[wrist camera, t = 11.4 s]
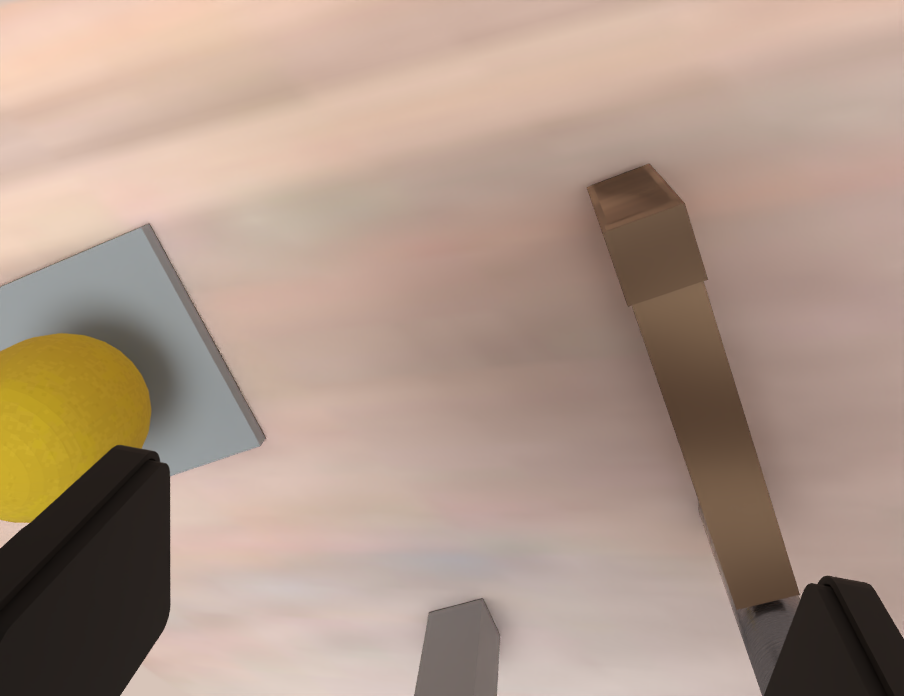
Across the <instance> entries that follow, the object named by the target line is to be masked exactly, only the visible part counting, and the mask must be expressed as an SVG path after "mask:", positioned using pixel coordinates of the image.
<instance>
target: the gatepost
mask: <svg viewBox="0 0 904 696" xmlns="http://www.w3.org/2000/svg"><path fill="white" fill-rule="evenodd" d="M699 514H700V517H701V520H702V523H703V526H704V528H705V531H706V534H707V537H708V540H709V543H710V546H711V549H712V552H713V554H714V557H715V560H716V563H717V566H718V569H719V572H720V575H721V578H722V580H723V583H724V586H725V589H726V592H727V595H728V598H729V601H730V604H731V606H732V609H733V612H734V615H735V618H736V621H737V624H738V627H739V630H740V633H741V635H742V638H743V641H744V644H745V647H746V650H747V653H748V656H749V659H750V661H751V664H752V667H753V670H754V673H755V676H756V679H757V682H758V685H759V687H760V690H761V693H762V696H764V694H765V691H766V689H767V686H768V683H769V681H770V678H771V675H772V673H773V670H774V668H775V665H776V662H777V660H778V657H779V654H780V652H781V649H782V647H783V644H784V641H785V639H786V636H787V633H788V631H789V628H790V626H791V623H792V620H793V618H794V615H795V612H796V610H797V607H798V605H799V602H800V598H799V596H798V595H796V596H792V597H788V598H784V599H780V600H776V601H771V602H767V603H763V604H759V605H755V606H751V607H747V608H742V609H738V610H736V607H735V604H734V602H733V599H732V596H731V593H730V590H729V587H728V584H727V581H726V578H725V576H724V573H723V570H722V567H721V564H720V561H719V558H718V555H717V552H716V549H715V546H714V543H713V541H712V538H711V535H710V532H709V529H708V526H707V523H706V520H705V517H704V514H703V511H702V509H701V506H700V503H699Z"/></svg>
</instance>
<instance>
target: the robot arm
mask: <svg viewBox="0 0 904 696" xmlns="http://www.w3.org/2000/svg"><path fill="white" fill-rule="evenodd" d="M169 612H170V468H169V466H168V464H166V463H162V462H160V457H159V455H158V453H157V452H155V451H151V450H146V449H141V448H135V447H130V446H124V445H116V446H114V447H113V448H111V449H110V450H109V451H108V452H107V453H106V454H105V455H104V456H103V457H102V458H101V459H99V460H98V461H97V462H96V463H95V464H94V465H93V466H92V467H91V468H90V469H88V470H87V471H86V472H85V473H84V474H83V475H82V476H81V477H80V478H79V479H78V480H76V481H75V482H74V483H73V484H72V485H71V486H70V487H69V488H68V489H67V490H66V491H64V492H63V493H62V494H61V495H60V496H59V497H58V498H57V499H56V500H55V501H53V502H52V503H51V504H50V505H49V506H48V507H47V508H46V509H45V510H44V511H43V512H41V513H40V514H39V515H38V516H37V517H36V518H35V519H34V520H33V521H32V522H31V523H29V524H28V525H27V526H25V527H24V528H22V529H21V530H20V531H19V532H18V533H17V534H16V535H15V536H14V537H12V538H11V539H10V540H9V541H8V542H7V543H6V544H5V545H4V546H3V547H1V548H0V696H120V695H121V694H122V692H123V691H124V689H125V688H126V686H127V685H128V683H129V681H130V680H131V678H132V677H133V675H134V674H135V672H136V671H137V670H138V668H139V667H140V665H141V664H142V662H143V661H144V659H145V657H146V656H147V654H148V653H149V651H150V650H151V648H152V647H153V645H154V644H155V642H156V641H157V639H158V638H159V636H160V635H161V633H162V632H163V630H164V628H165V625H166V623H167V620H168V617H169ZM764 696H904V639H903V637H902V635H901V634H900V632H899V630H898V629H897V627H896V625H895V624H894V622H893V620H892V618H891V617H890V615H889V613H888V612H887V610H886V608H885V607H884V605H883V603H882V601H881V600H880V598H879V596H878V595H877V593H876V591H875V590H874V588H873V587H872V586H871V585H870V584H867V583H864V582H859V581H854V580H848V579H843V578H837V577H832V576H824V577H823V578H822V579H821V580H820V581H819V582H818V584H813V583H811V584H808V585H807V586H806V588H805V590H804V592H803V594H802V597H801V599H800V602H799V605H798V607H797V610H796V612H795V615H794V618H793V620H792V623H791V626H790V628H789V631H788V633H787V636H786V639H785V641H784V644H783V647H782V649H781V652H780V654H779V657H778V660H777V662H776V665H775V668H774V670H773V673H772V675H771V678H770V681H769V683H768V686H767V689H766V691H765V694H764Z"/></svg>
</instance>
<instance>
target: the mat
mask: <svg viewBox="0 0 904 696" xmlns="http://www.w3.org/2000/svg"><path fill="white" fill-rule="evenodd" d="M57 333H68V334H78V335H85V336H89V337H92V338H95V339H98V340H101V341H104V342H106V343H108V344H109V345H111V346H113V347H114V348H116V349H118V350H120V351H121V352H122V353H123V354H124V355H125V356H126V357H127V358H128V359H130V360H131V361H132V362H133V364H134V365H135V366H136V368H137V369H138V371H139V372H140V373H141V375H142V376H143V379H144V381H145V383H146V386H147V388H148V391H149V397H150V403H151V418H150V426H149V432H148V435H147V437H146V440H145V442H144V444H143V447H142V449H146V450H151V451H155V452H157V453H158V455H159V457H160V462H162V463H166V464H168V466H169V468H170V476H172V475H175V474H178V473H181V472H184V471H187V470H190V469H193V468H196V467H199V466H202V465H205V464H208V463H211V462H214V461H217V460H220V459H223V458H226V457H229V456H232V455H235V454H238V453H241V452H244V451H247V450H250V449H253V448H256V447H259V446H261V445H262V443H263V442H264V440H265V436H264V434H263V433H262V431H261V429H260V427H259V425H258V423H257V422H256V420H255V418H254V416H253V414H252V412H251V410H250V409H249V407H248V405H247V403H246V401H245V399H244V398H243V396H242V394H241V392H240V390H239V388H238V387H237V385H236V383H235V381H234V379H233V377H232V375H231V374H230V372H229V370H228V368H227V366H226V364H225V363H224V361H223V359H222V357H221V355H220V353H219V352H218V350H217V348H216V346H215V344H214V342H213V340H212V339H211V337H210V335H209V333H208V331H207V329H206V328H205V326H204V324H203V322H202V320H201V318H200V317H199V315H198V313H197V311H196V309H195V307H194V306H193V304H192V302H191V300H190V298H189V296H188V294H187V293H186V291H185V289H184V287H183V285H182V283H181V282H180V280H179V278H178V276H177V274H176V272H175V271H174V269H173V267H172V265H171V263H170V261H169V259H168V258H167V256H166V254H165V252H164V250H163V248H162V247H161V245H160V243H159V241H158V239H157V237H156V236H155V234H154V232H153V230H152V228H151V226H150V224H147V225H144V226H142V227H140V228H137V229H135V230H133V231H130V232H128V233H126V234H123V235H121V236H119V237H116V238H114V239H112V240H109V241H107V242H104V243H102V244H100V245H97V246H95V247H93V248H90V249H88V250H86V251H83V252H81V253H79V254H76V255H74V256H72V257H69V258H67V259H64V260H62V261H60V262H57V263H55V264H53V265H50V266H48V267H46V268H43V269H41V270H39V271H36V272H34V273H32V274H29V275H27V276H24V277H22V278H20V279H17V280H15V281H13V282H10V283H8V284H6V285H3V286H1V287H0V351H2V350H4V349H6V348H8V347H10V346H12V345H14V344H16V343H19V342H21V341H24V340H26V339H30V338H33V337H38V336H45V335H51V334H57Z"/></svg>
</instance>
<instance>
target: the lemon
mask: <svg viewBox="0 0 904 696" xmlns="http://www.w3.org/2000/svg"><path fill="white" fill-rule="evenodd" d="M150 418H151V403H150V397H149V391H148V388H147V386H146V383H145V381H144V379H143V376H142V375H141V373H140V372H139V371H138V369H137V368H136V366H135V365H134V364H133V362H132V361H131V360H130V359H128V358H127V357H126V356H125V355H124V354H123V353H122V352H121V351H120V350H118V349H116V348H114V347H113V346H111V345H109V344H108V343H106V342H104V341H101V340H98V339H95V338H92V337H89V336H85V335H78V334H68V333H57V334H51V335H45V336H38V337H33V338H30V339H26V340H24V341H21V342H19V343H16V344H14V345H12V346H10V347H8V348H6V349H4V350H2V351H0V520H4V521H8V522H14V523H31V522H32V521H33V520H34V519H35V518H36V517H37V516H38V515H39V514H40V513H41V512H43V511H44V510H45V509H46V508H47V507H48V506H49V505H50V504H51V503H52V502H53V501H55V500H56V499H57V498H58V497H59V496H60V495H61V494H62V493H63V492H64V491H66V490H67V489H68V488H69V487H70V486H71V485H72V484H73V483H74V482H75V481H76V480H78V479H79V478H80V477H81V476H82V475H83V474H84V473H85V472H86V471H87V470H88V469H90V468H91V467H92V466H93V465H94V464H95V463H96V462H97V461H98V460H99V459H101V458H102V457H103V456H104V455H105V454H106V453H107V452H108V451H109V450H110V449H111V448H113V447H114V446H116V445H124V446H130V447H135V448H141V449H142V447H143V444H144V442H145V440H146V437H147V435H148V432H149V426H150Z"/></svg>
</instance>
